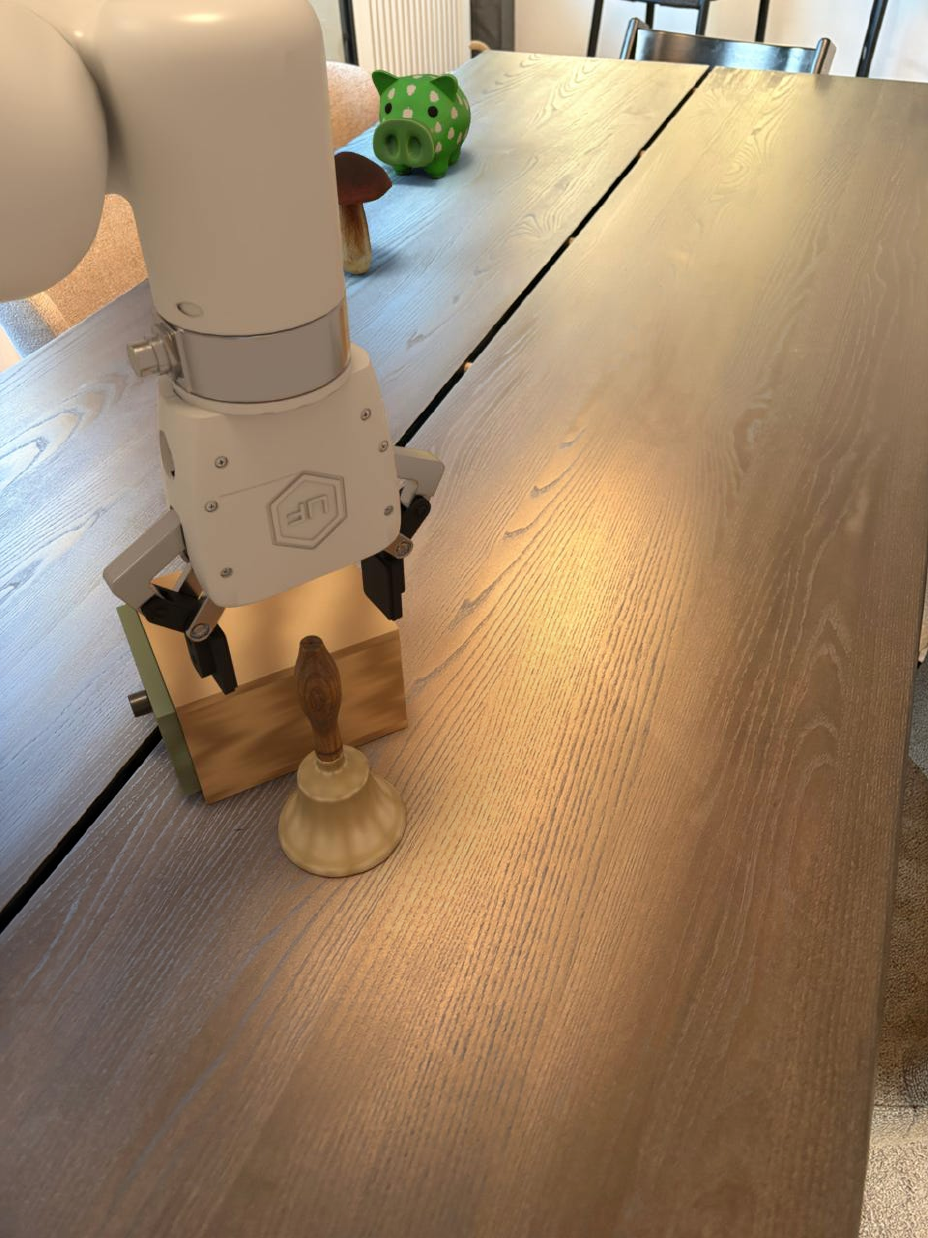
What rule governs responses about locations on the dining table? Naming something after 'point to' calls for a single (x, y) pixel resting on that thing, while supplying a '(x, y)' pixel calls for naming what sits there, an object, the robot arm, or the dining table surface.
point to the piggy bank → (420, 122)
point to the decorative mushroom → (357, 205)
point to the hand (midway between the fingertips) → (304, 640)
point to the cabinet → (282, 681)
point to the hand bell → (335, 785)
